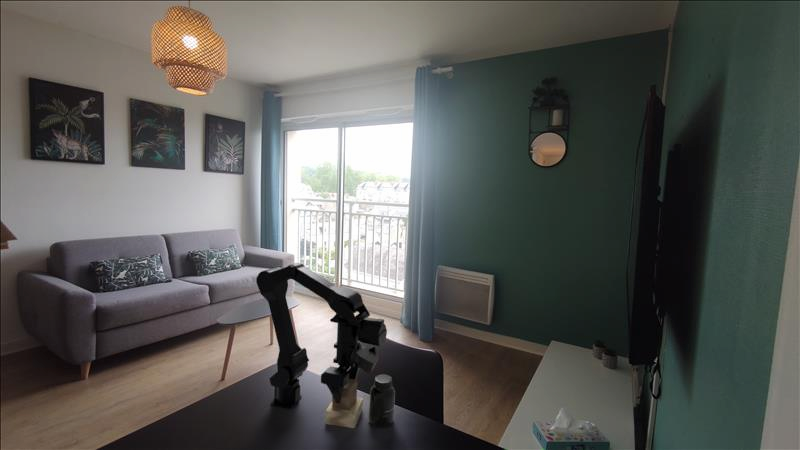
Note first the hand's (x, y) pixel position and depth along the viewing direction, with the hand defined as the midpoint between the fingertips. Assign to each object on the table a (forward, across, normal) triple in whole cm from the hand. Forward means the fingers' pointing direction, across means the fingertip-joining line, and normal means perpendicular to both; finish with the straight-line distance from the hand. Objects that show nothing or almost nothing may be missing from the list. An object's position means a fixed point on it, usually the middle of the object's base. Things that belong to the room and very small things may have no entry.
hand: (345, 393), depth 99 cm
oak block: (+7, 0, 0) cm, 7 cm away
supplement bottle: (+7, +2, -10) cm, 12 cm away
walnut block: (+3, 0, 0) cm, 3 cm away
